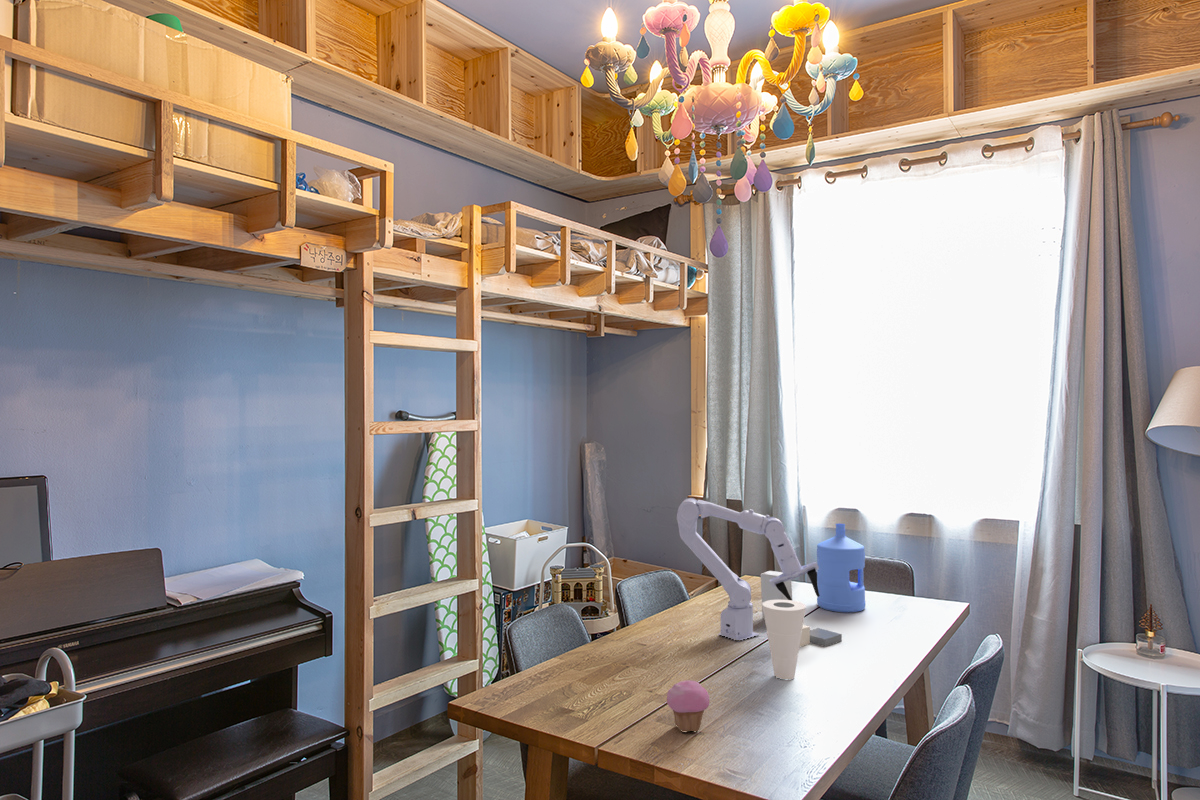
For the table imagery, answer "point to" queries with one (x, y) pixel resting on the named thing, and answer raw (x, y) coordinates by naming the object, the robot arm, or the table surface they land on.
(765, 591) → the skincare box
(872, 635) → the table surface
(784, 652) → the cup
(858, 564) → the water jug
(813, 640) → the base
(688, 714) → the cupcake
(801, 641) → the block
